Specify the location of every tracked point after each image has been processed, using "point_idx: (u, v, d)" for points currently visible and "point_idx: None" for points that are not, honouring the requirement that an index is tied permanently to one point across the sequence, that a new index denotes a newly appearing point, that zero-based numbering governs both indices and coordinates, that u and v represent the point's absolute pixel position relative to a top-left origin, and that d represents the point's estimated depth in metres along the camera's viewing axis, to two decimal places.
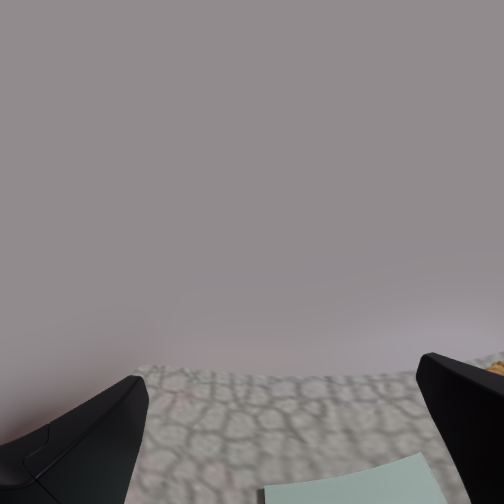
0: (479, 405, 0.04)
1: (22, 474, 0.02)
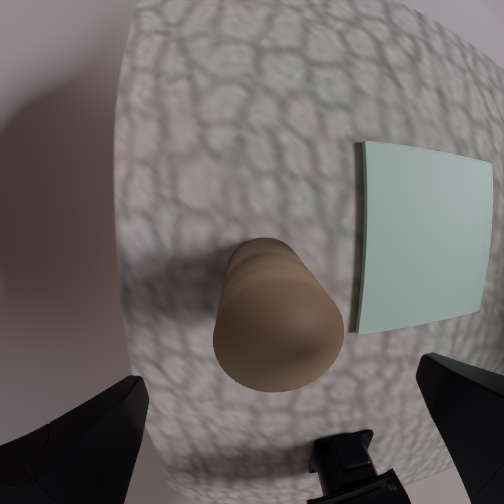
0: (479, 405, 0.04)
1: (23, 475, 0.02)
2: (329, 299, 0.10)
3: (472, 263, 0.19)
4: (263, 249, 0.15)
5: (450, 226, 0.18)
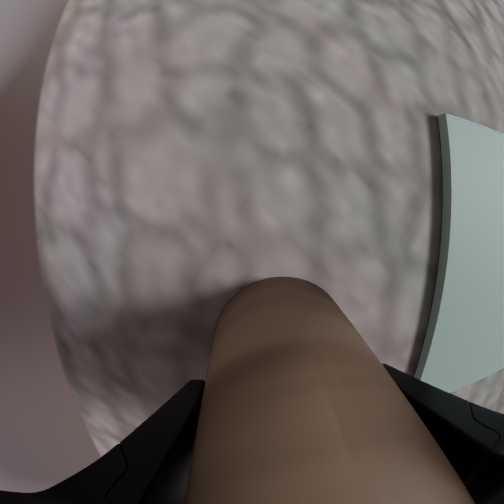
0: None
1: None
2: None
3: None
4: (289, 325, 0.06)
5: None
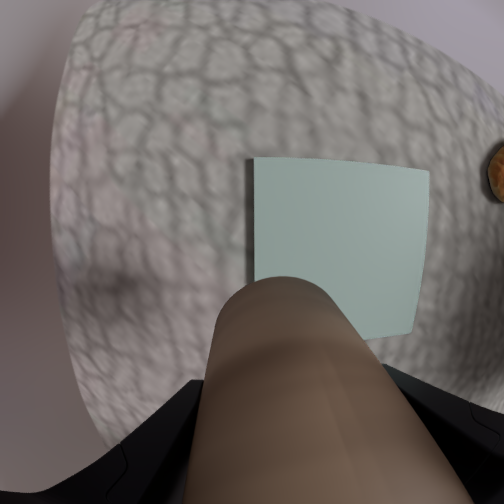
0: None
1: None
2: None
3: (397, 282, 0.20)
4: (287, 324, 0.06)
5: (363, 242, 0.19)
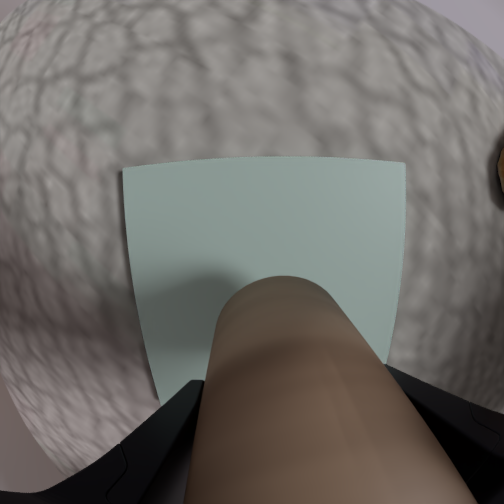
0: None
1: None
2: None
3: None
4: (289, 323, 0.06)
5: None
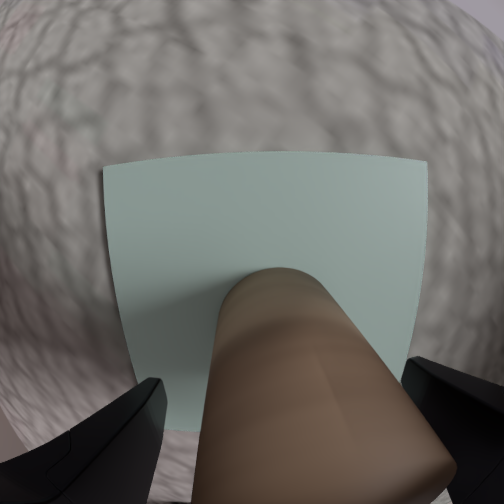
0: (464, 413, 0.04)
1: (47, 488, 0.02)
2: (451, 463, 0.02)
3: None
4: (285, 306, 0.07)
5: None
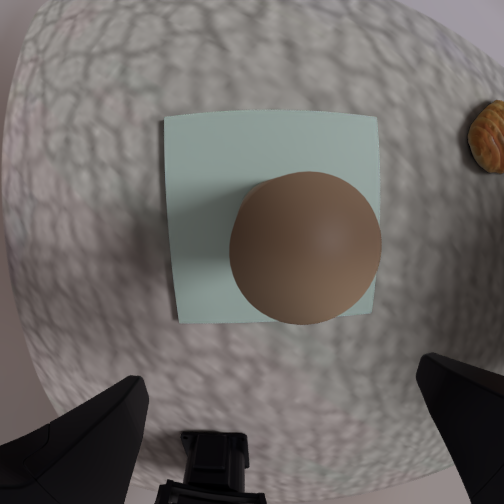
0: (479, 405, 0.04)
1: (23, 475, 0.02)
2: (364, 199, 0.08)
3: None
4: None
5: None
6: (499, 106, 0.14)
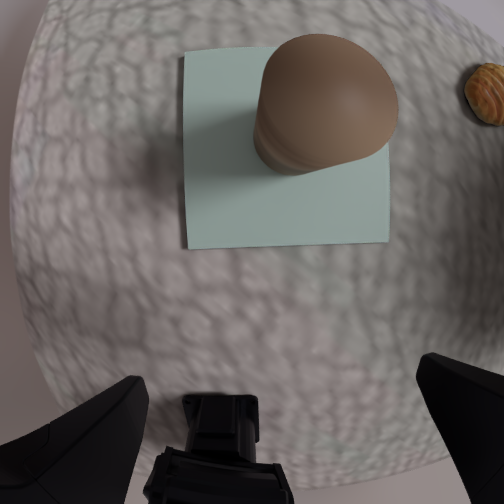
0: (479, 405, 0.04)
1: (23, 474, 0.02)
2: (375, 59, 0.08)
3: (357, 171, 0.17)
4: None
5: None
6: (489, 66, 0.14)
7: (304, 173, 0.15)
